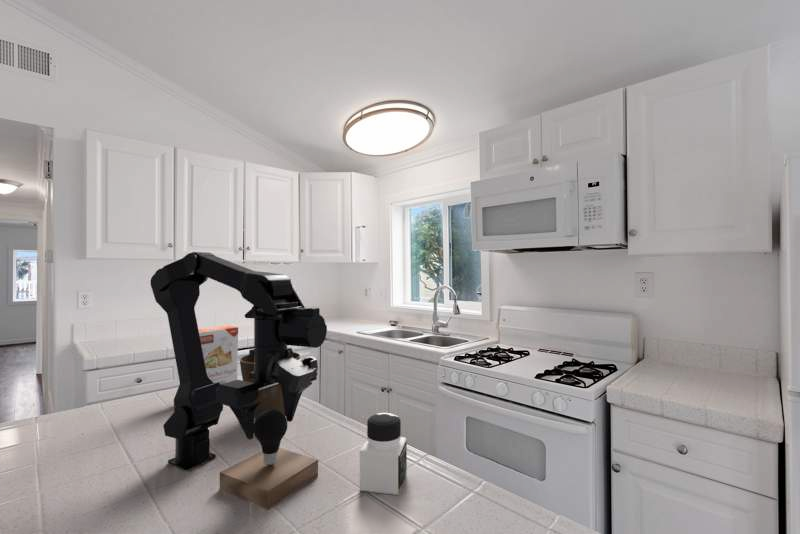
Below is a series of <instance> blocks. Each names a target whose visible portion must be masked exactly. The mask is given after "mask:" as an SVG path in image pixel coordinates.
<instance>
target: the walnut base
mask: <svg viewBox="0 0 800 534" xmlns="http://www.w3.org/2000/svg"><path fill="white" fill-rule="evenodd" d="M263 455H264V454H263V451H262V450H261V451H259V452H257V453H255V454H253V455H251V456H249V457H246V458H245V459H242V460H241V461H239V462H237V463H234V464H233V465H231V466H229V467H227V468H225V469H224V470H221V471H219V490H220V491H223V492H225V493H227V494H229V495H232V496H235V497H237V498H239V499H241V500H244V501H246V502H249V503H252V504H253V505H256V506H259V507H260V508H263V509H265V510H269V509H271V508H272V507H274V506H276V505H277V504H278V503H281V501H283V500H285V499H286V498H287V497H289V496H290V495H293V493H295V492H297V491H299V489H301V488H302V487H304V486H305V485H306V484H308V483H310V482H311V481H312V480H314V479H315V478H317V477H318V476H319V459H317V458H314V457H311V456H307V455H305V454H304V455H303V454H301V453H297V452H295V451H290V450H289V449H288V450H287V449H284V448H281V447H279V449H278V460H277V462H276V463H274V464H273V465H272V466H268V465H266V464H265V463H264V462H263V459H264V458H263V457H264V456H263Z"/></svg>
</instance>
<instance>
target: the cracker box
mask: <svg viewBox="0 0 800 534" xmlns="http://www.w3.org/2000/svg"><path fill="white" fill-rule="evenodd" d="M198 330H199V335H200V341H201V346H202V351H203V356H204V361H205V367H206V372H207V376H208V377H209V378H210V379H211V380H212V382H213V383H217V382H219V383H220V385H221V384H224V383H228V382H231V381H234V380H238V363H239V362H238V359H239V358H238V356H239V327H238V326H235V325H233V326H232V325H223V326H215V327H206V328H198Z"/></svg>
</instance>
